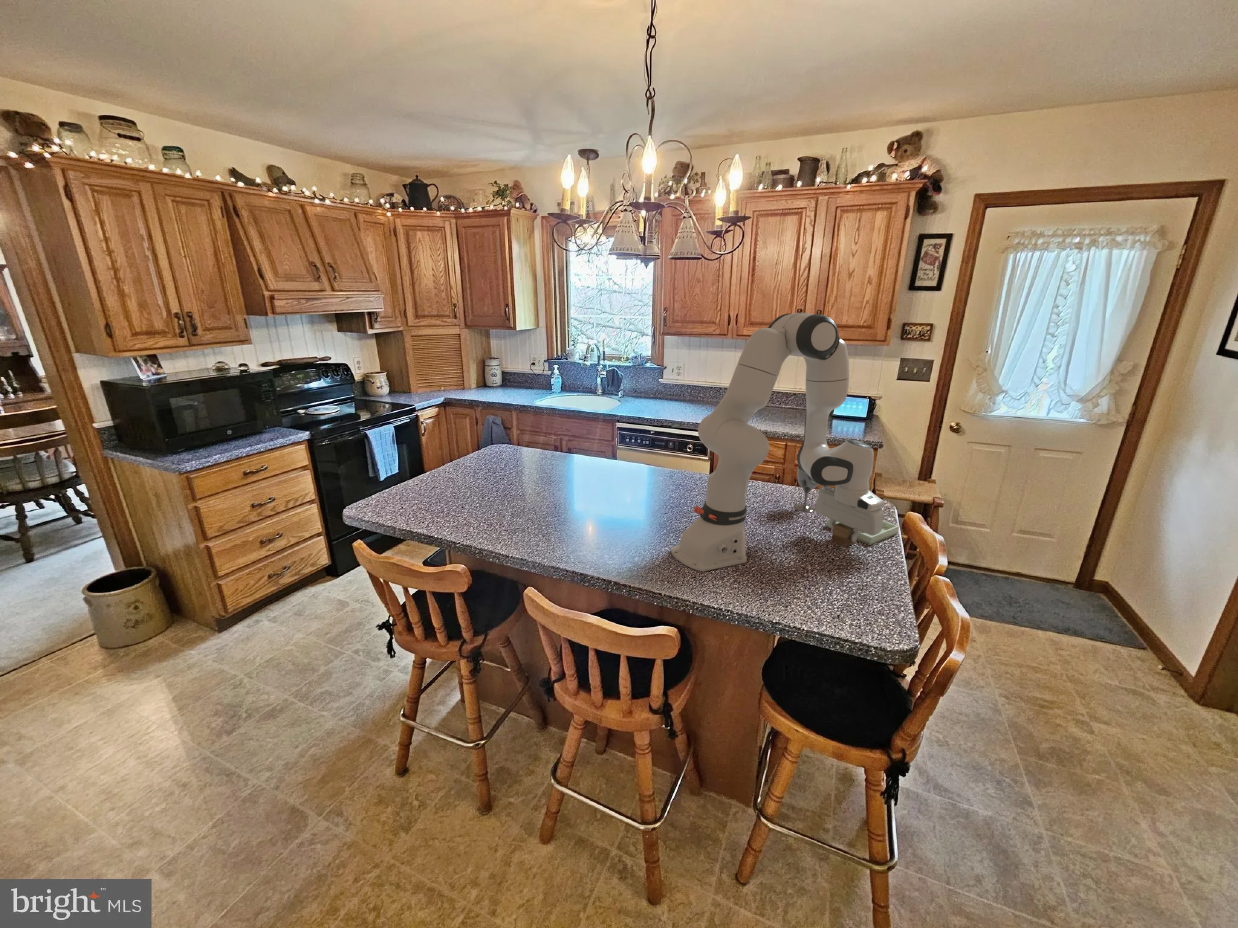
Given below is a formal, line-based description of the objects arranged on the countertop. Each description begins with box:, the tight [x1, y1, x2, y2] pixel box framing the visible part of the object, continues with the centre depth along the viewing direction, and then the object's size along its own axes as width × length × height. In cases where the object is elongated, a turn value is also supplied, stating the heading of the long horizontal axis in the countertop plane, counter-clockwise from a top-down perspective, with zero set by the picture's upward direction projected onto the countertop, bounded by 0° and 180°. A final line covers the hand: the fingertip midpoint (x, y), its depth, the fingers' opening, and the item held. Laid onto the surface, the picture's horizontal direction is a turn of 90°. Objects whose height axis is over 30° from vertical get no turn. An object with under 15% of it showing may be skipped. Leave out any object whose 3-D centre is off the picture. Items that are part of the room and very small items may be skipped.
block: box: [830, 523, 855, 548], centre depth 150 cm, size 4×4×6 cm
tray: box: [825, 518, 900, 546], centre depth 159 cm, size 15×15×2 cm
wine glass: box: [793, 465, 819, 513], centre depth 173 cm, size 8×8×15 cm
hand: (843, 536), depth 151 cm, fingers closed on block, 4 cm apart
